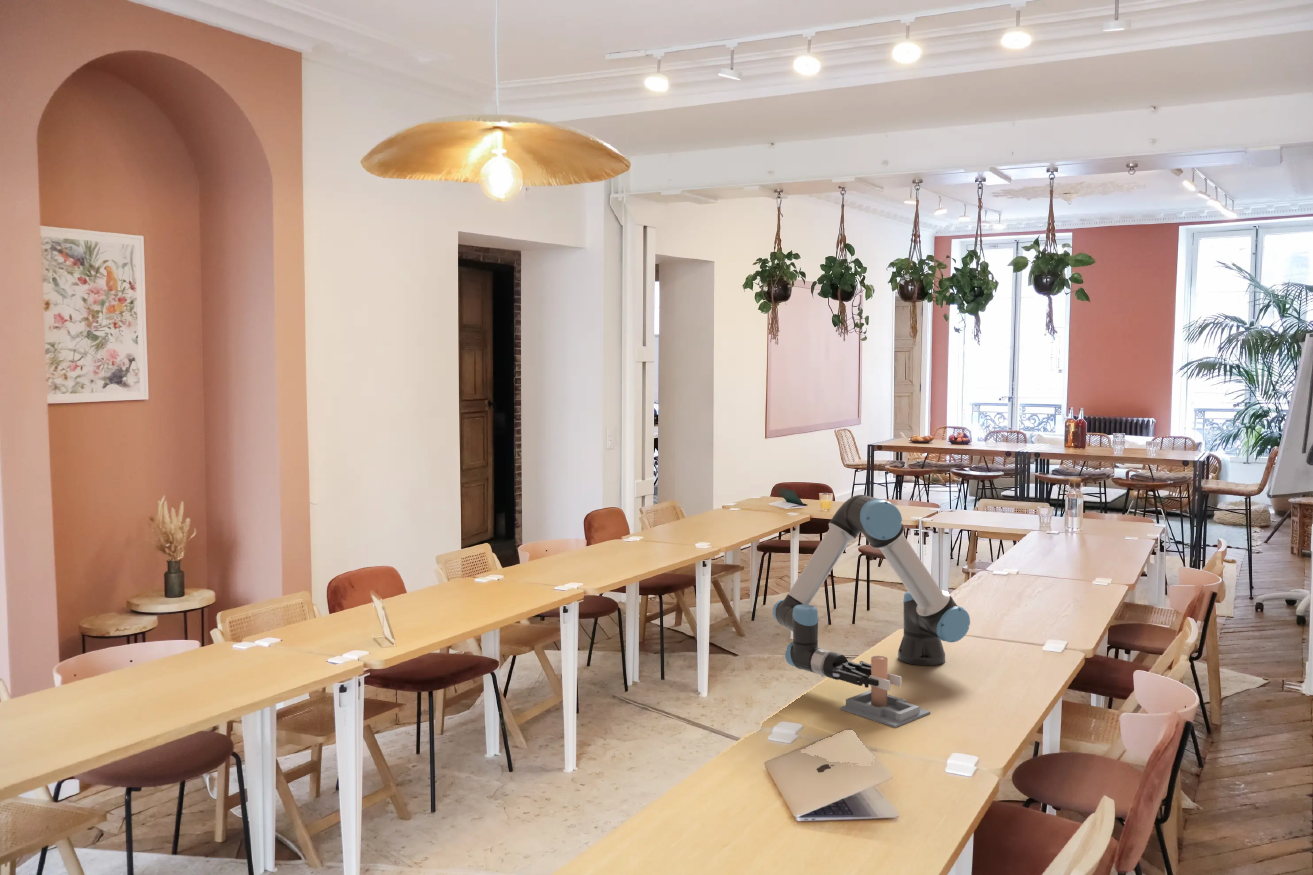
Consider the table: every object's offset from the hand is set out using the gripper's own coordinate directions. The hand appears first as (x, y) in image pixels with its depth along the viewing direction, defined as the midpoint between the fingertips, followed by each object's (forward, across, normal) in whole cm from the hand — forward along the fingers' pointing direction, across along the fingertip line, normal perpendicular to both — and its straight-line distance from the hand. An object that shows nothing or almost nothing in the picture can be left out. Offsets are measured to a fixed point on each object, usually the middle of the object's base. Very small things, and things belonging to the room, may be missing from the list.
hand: (894, 683), depth 272 cm
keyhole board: (-4, 0, -9) cm, 10 cm away
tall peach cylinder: (-5, 0, -8) cm, 10 cm away
